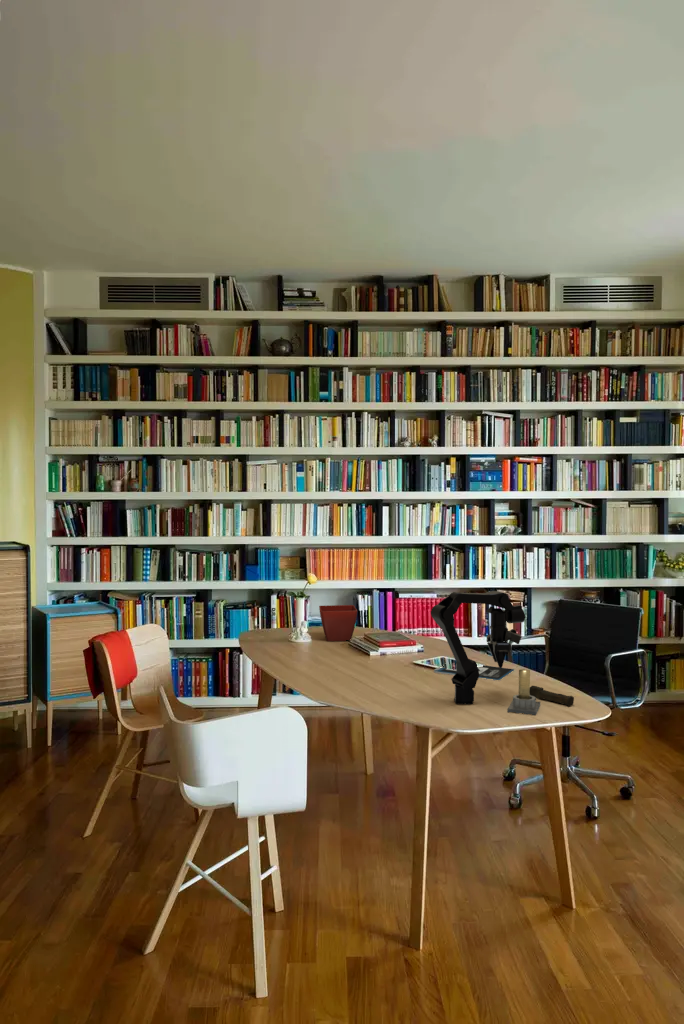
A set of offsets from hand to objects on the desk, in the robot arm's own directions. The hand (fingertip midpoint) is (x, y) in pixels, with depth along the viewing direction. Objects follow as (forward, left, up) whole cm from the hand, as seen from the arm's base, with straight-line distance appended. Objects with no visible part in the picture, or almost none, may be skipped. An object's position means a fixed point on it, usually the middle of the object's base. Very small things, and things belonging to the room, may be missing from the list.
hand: (498, 664), depth 296 cm
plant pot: (-64, +115, -13) cm, 132 cm away
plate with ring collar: (+7, -14, -13) cm, 20 cm away
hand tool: (+19, -3, -14) cm, 23 cm away
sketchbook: (-2, +44, -14) cm, 46 cm away
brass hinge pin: (+7, -14, -12) cm, 19 cm away
